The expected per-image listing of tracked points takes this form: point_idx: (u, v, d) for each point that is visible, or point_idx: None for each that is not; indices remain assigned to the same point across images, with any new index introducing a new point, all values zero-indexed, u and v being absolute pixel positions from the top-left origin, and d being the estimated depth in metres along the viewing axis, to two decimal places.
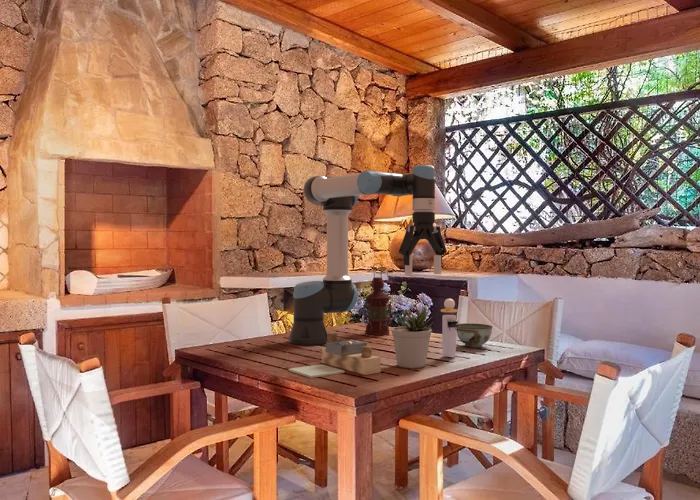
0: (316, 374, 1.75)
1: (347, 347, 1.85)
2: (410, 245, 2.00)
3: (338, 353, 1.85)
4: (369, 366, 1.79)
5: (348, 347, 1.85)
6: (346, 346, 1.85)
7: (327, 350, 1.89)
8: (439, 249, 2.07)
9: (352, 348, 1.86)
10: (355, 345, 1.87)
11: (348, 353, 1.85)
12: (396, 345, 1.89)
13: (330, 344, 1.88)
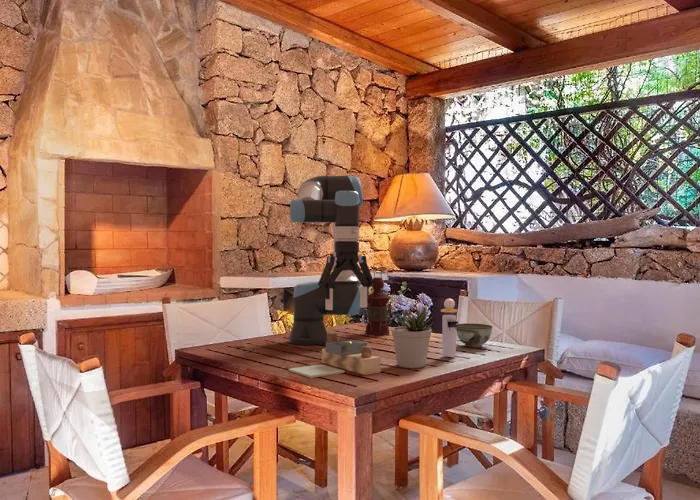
0: (316, 374, 1.75)
1: (347, 347, 1.85)
2: (331, 277, 1.85)
3: (338, 353, 1.85)
4: (369, 366, 1.79)
5: (348, 347, 1.85)
6: (346, 346, 1.85)
7: (327, 350, 1.89)
8: (365, 280, 1.93)
9: (352, 348, 1.86)
10: (355, 345, 1.87)
11: (348, 353, 1.85)
12: (396, 345, 1.89)
13: (330, 344, 1.88)
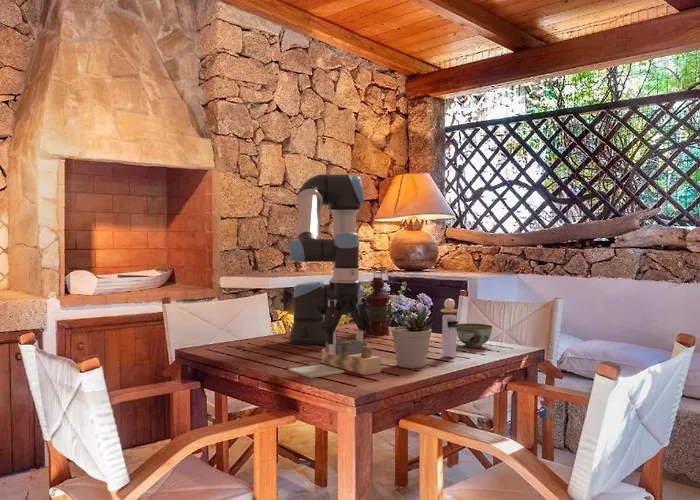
0: (316, 374, 1.75)
1: (347, 347, 1.85)
2: (333, 322, 1.86)
3: (338, 353, 1.85)
4: (369, 366, 1.79)
5: (348, 347, 1.85)
6: (346, 346, 1.85)
7: (327, 350, 1.89)
8: (361, 324, 1.92)
9: (352, 348, 1.86)
10: (355, 345, 1.87)
11: (348, 353, 1.85)
12: (396, 345, 1.89)
13: None
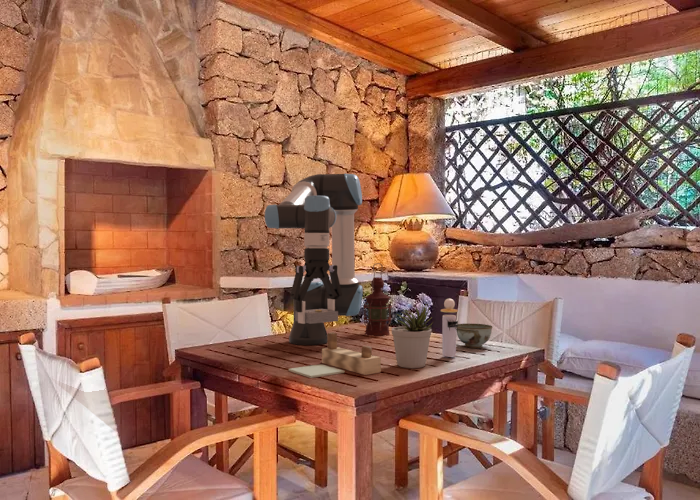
0: (316, 374, 1.75)
1: (317, 315, 1.77)
2: (302, 289, 1.78)
3: (307, 321, 1.76)
4: (369, 366, 1.79)
5: (318, 315, 1.77)
6: (316, 314, 1.76)
7: (296, 319, 1.81)
8: (333, 292, 1.84)
9: (322, 317, 1.78)
10: (325, 313, 1.79)
11: (318, 321, 1.77)
12: (396, 345, 1.89)
13: None
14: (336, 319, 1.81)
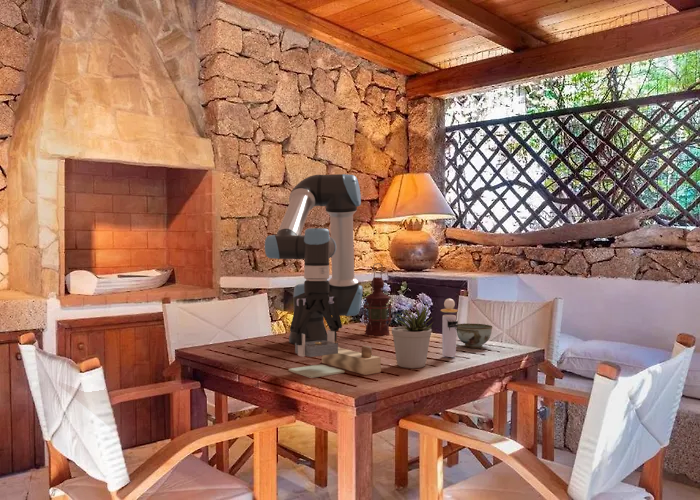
0: (316, 374, 1.75)
1: (317, 348, 1.77)
2: (302, 321, 1.78)
3: (307, 354, 1.76)
4: (369, 366, 1.79)
5: (318, 348, 1.77)
6: (315, 347, 1.77)
7: (296, 351, 1.81)
8: (333, 324, 1.84)
9: (322, 349, 1.78)
10: (325, 346, 1.79)
11: (318, 354, 1.77)
12: (396, 345, 1.89)
13: None
14: (336, 351, 1.81)
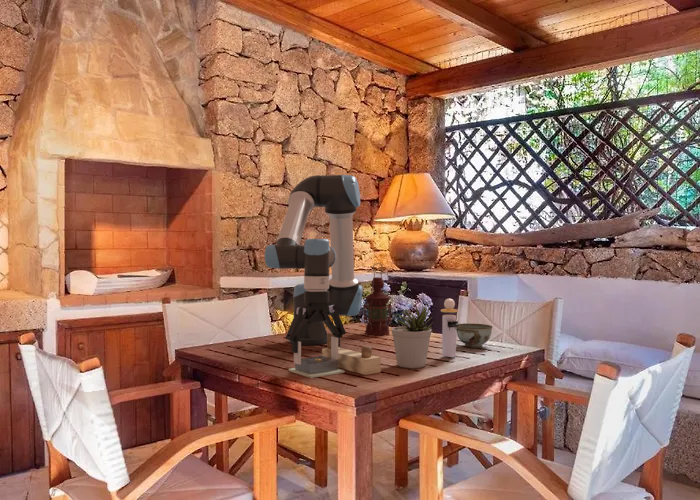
0: (316, 374, 1.75)
1: (317, 365, 1.77)
2: (299, 330, 1.78)
3: (307, 371, 1.77)
4: (369, 366, 1.79)
5: (318, 365, 1.77)
6: (315, 364, 1.77)
7: (296, 368, 1.81)
8: (336, 331, 1.85)
9: (322, 366, 1.78)
10: (325, 363, 1.79)
11: (318, 371, 1.77)
12: (396, 345, 1.89)
13: None
14: (336, 368, 1.81)
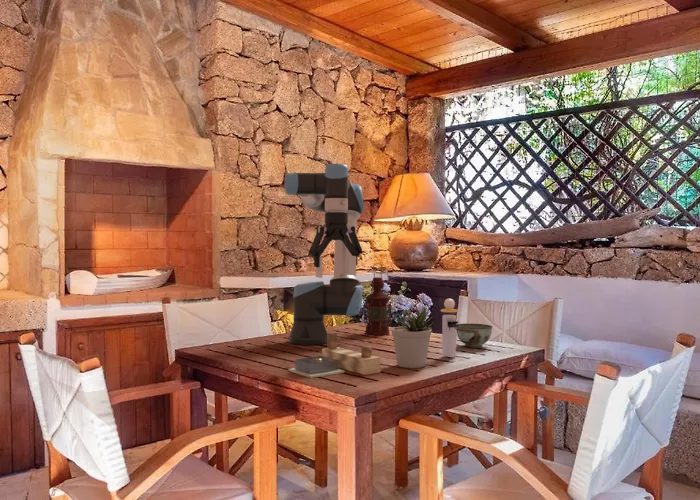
0: (316, 374, 1.75)
1: (317, 365, 1.77)
2: (321, 246, 1.95)
3: (307, 371, 1.77)
4: (369, 366, 1.79)
5: (318, 365, 1.77)
6: (315, 364, 1.77)
7: (296, 368, 1.81)
8: (354, 250, 2.02)
9: (322, 366, 1.78)
10: (325, 363, 1.79)
11: (318, 371, 1.77)
12: (396, 345, 1.89)
13: (299, 362, 1.80)
14: (336, 368, 1.81)
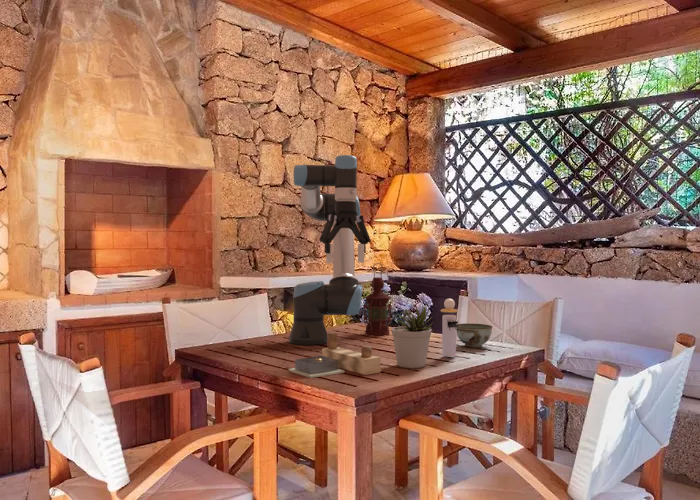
0: (316, 374, 1.75)
1: (317, 365, 1.77)
2: (331, 234, 2.04)
3: (307, 371, 1.77)
4: (369, 366, 1.79)
5: (318, 365, 1.77)
6: (315, 364, 1.77)
7: (296, 368, 1.81)
8: (362, 238, 2.11)
9: (322, 366, 1.78)
10: (325, 363, 1.79)
11: (318, 371, 1.77)
12: (396, 345, 1.89)
13: (299, 362, 1.80)
14: (336, 368, 1.81)
